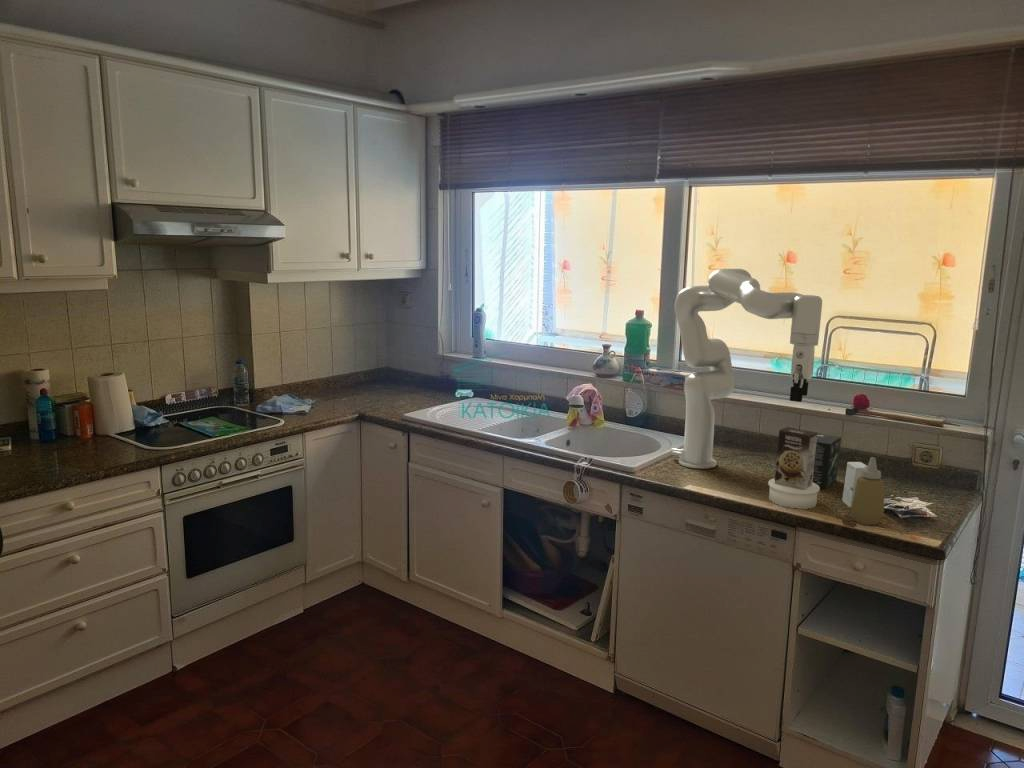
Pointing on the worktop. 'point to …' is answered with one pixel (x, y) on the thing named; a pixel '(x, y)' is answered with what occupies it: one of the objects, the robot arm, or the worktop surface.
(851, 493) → the skincare box
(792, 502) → the podium
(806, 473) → the coffee box
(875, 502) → the squeeze bottle
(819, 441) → the tampon box
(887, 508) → the worktop surface
